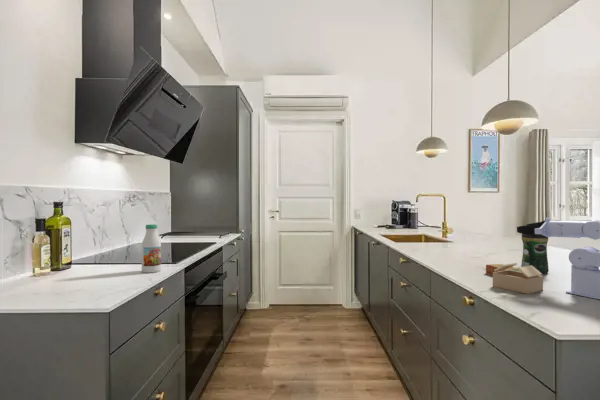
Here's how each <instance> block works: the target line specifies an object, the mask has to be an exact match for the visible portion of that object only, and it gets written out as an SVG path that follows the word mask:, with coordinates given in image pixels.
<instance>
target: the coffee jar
mask: <svg viewBox="0 0 600 400" xmlns="http://www.w3.org/2000/svg"><path fill="white" fill-rule="evenodd" d="M521 240H522V244H523V245H522V246H523V247H522V248H523V249H522V255H521V256H522V257H521V264H520V265H521V266H520V267H525V266H530V265H532V266H533V267H534V268H536V269H537V270H538V271H539V272H541V273H542V274H548V273H549V262H548V261H549V260H548V259H549V258H548V249H547V245H548V241H549V237H546V236H544V235H542V234H538V238H533V237H532V236H529V235H526V234H522V233H521Z"/></svg>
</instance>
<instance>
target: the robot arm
mask: <svg viewBox="0 0 600 400" xmlns="http://www.w3.org/2000/svg"><path fill="white" fill-rule="evenodd" d="M516 233H519V234H521V235H522V234H526V235H529V236H532V237H533V238H538V234H542V235H544V236H546V237H548V238H571V239H572V238H573V239H574V238H575V239H580V238H588V239H591V240H595V241H596V240H600V220H594V221H593V220H592V221H585V220H584V221H581V220H551V218H550V217H545V220H543V221H540V222H539V221H536V222H531V223H527V224H526V225H525V224H524V225H519V226H516ZM568 260H569V262H570V264H571V265H570V268H571V270H570V271H571V272H570V277H571V279H570V280H571V281H570V283H571V284H570V289H568V290H565V293H567V294H572V295H577V296H581V297H586V298H591V299H595V300H600V249H597V248H595V247H593V246H584V247H582V248H575V249H573V250H571V251H570V252H569V254H568Z"/></svg>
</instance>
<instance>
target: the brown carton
mask: <svg viewBox="0 0 600 400" xmlns="http://www.w3.org/2000/svg"><path fill="white" fill-rule="evenodd" d="M492 287H494V288H498V289H503V290H506V291H507V290H508V291H511V292H515V291H516V293H520V292H521V293H522V294H524V293H525V295H530V294H534V293H538V292H543V290H544V276H543V275H538V276H533V277H527V276H526V275H524V274H523V273H522V272H518V271H512V270H505V271H499V272H493V275H492Z"/></svg>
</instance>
